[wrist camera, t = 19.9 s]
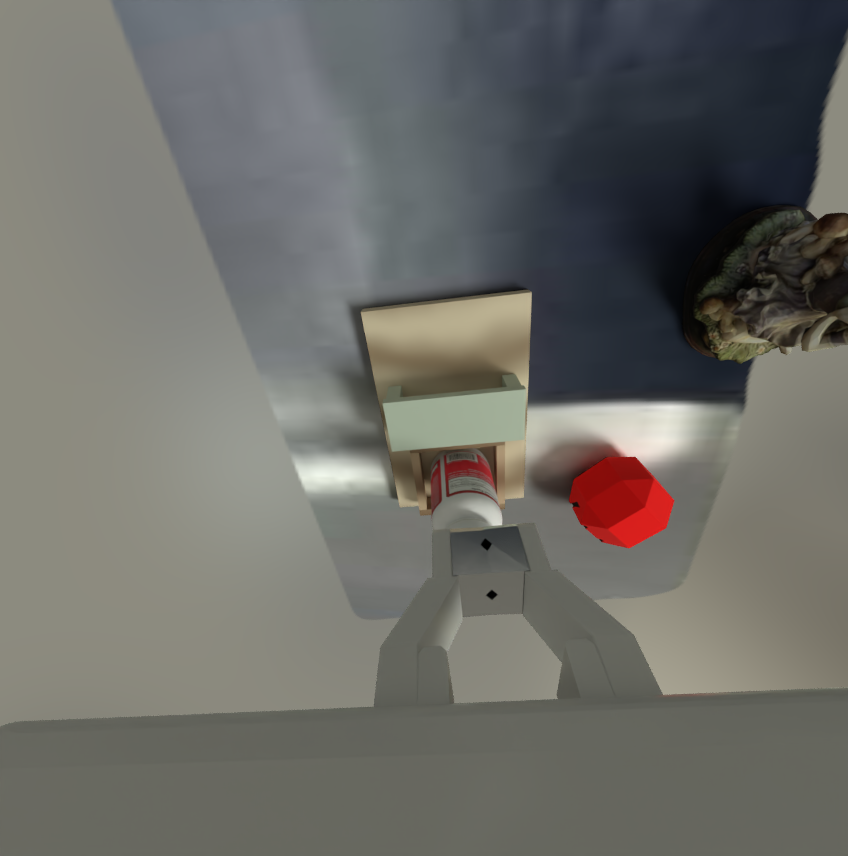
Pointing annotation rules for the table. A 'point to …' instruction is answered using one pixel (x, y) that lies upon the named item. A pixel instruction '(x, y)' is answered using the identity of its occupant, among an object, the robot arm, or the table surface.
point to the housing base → (451, 374)
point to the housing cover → (456, 416)
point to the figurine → (770, 285)
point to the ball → (620, 501)
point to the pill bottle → (463, 491)
